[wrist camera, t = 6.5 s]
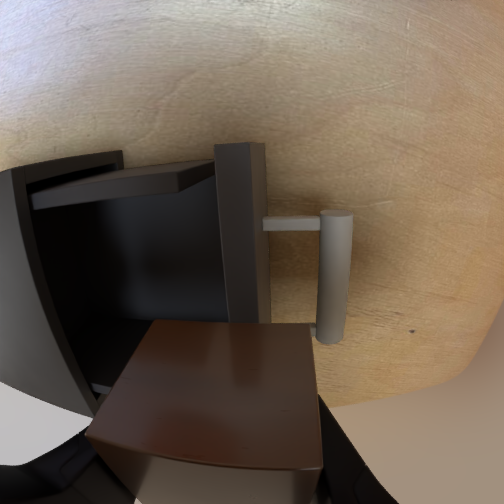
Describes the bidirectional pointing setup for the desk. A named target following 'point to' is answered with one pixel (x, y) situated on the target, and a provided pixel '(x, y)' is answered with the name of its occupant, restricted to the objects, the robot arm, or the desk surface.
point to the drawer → (173, 253)
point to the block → (215, 415)
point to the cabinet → (39, 292)
